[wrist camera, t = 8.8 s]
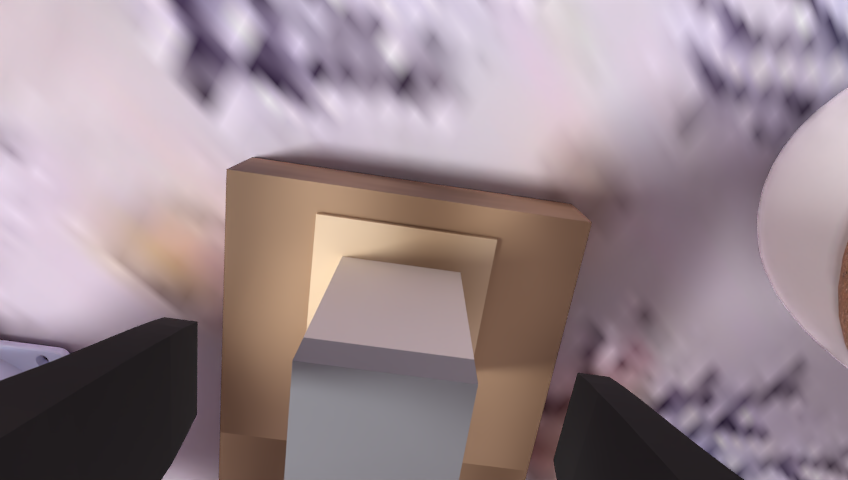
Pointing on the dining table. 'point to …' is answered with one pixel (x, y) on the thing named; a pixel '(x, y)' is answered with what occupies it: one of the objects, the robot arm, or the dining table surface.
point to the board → (401, 244)
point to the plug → (383, 377)
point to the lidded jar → (811, 226)
